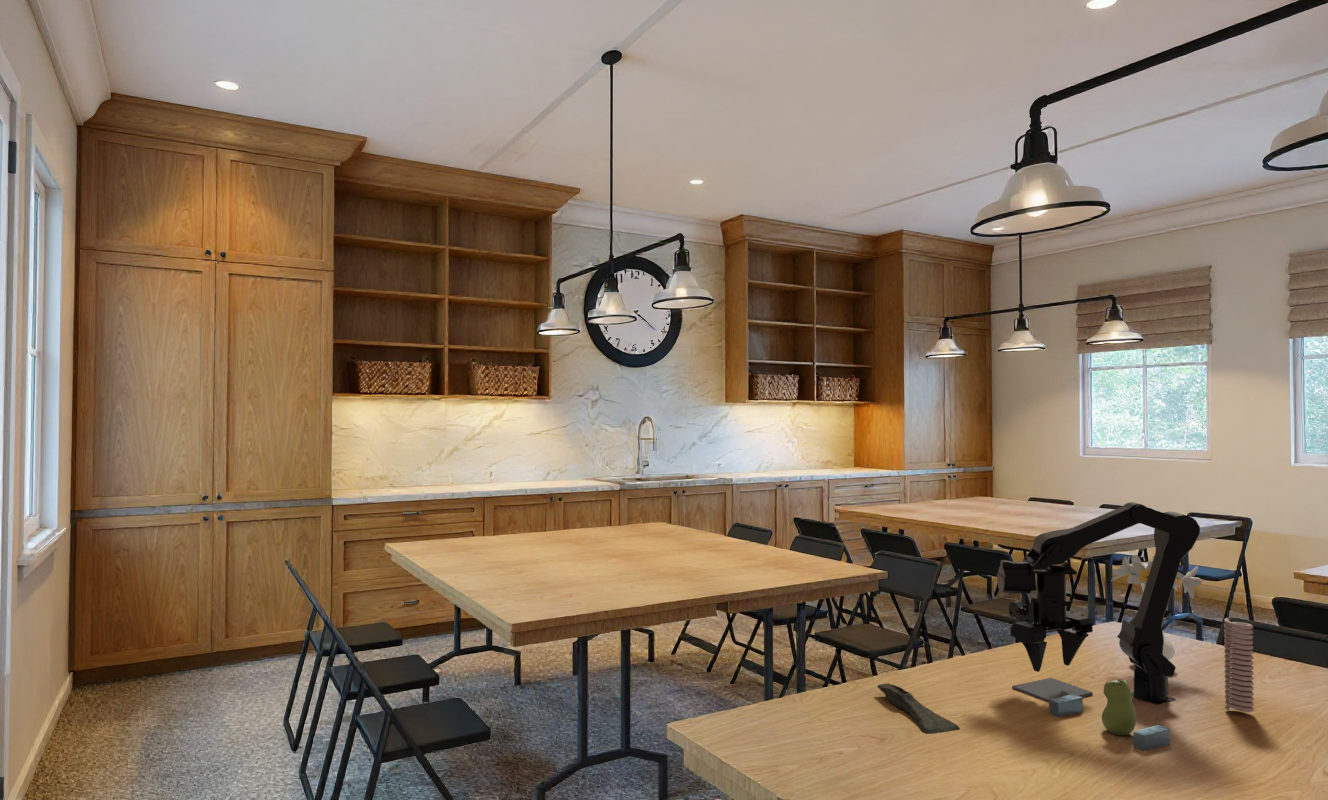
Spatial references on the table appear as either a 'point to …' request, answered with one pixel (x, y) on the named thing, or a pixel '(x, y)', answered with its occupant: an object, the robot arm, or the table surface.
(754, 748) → the table surface
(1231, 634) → the coil
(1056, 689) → the mat
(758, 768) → the table surface
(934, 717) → the tool
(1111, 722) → the pear
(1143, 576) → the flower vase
